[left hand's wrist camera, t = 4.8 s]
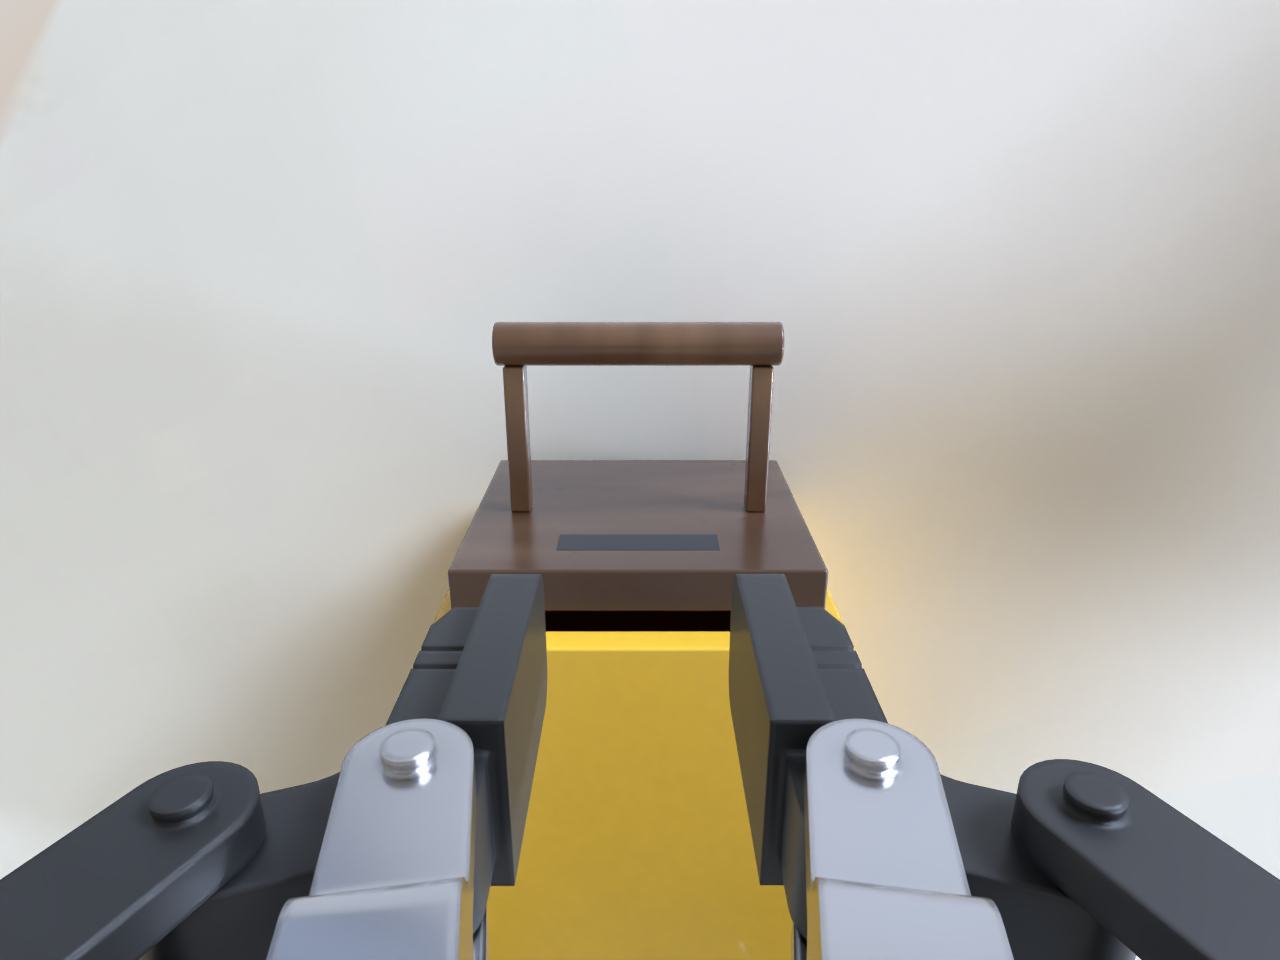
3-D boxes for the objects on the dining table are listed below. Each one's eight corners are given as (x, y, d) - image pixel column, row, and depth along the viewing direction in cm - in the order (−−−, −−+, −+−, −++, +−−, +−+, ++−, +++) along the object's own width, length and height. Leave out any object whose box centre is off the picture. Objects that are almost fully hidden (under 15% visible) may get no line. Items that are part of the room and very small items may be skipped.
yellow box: (490, 494, 31) (420, 648, 21) (786, 494, 31) (855, 648, 21) (517, 898, 38) (473, 1160, 28) (760, 899, 38) (803, 1160, 28)
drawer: (490, 298, 28) (427, 353, 19) (786, 298, 28) (848, 353, 19) (524, 865, 36) (491, 1069, 28) (752, 865, 36) (786, 1070, 28)
